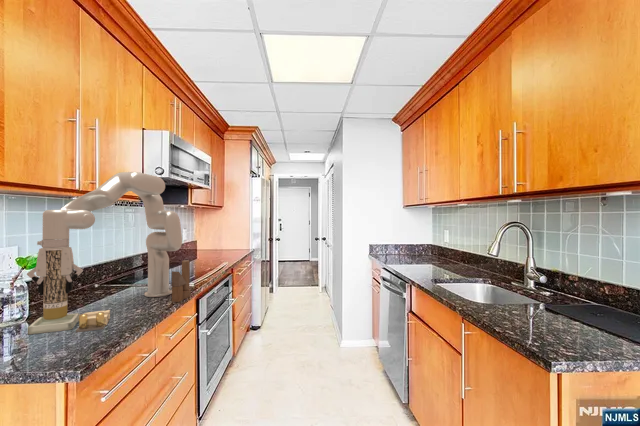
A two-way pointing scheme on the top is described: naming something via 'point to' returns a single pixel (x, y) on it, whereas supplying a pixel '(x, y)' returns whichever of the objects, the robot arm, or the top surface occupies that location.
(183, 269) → the wooden block
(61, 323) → the tray
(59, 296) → the paper tube
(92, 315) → the beige stepped block
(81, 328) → the bench dogs
